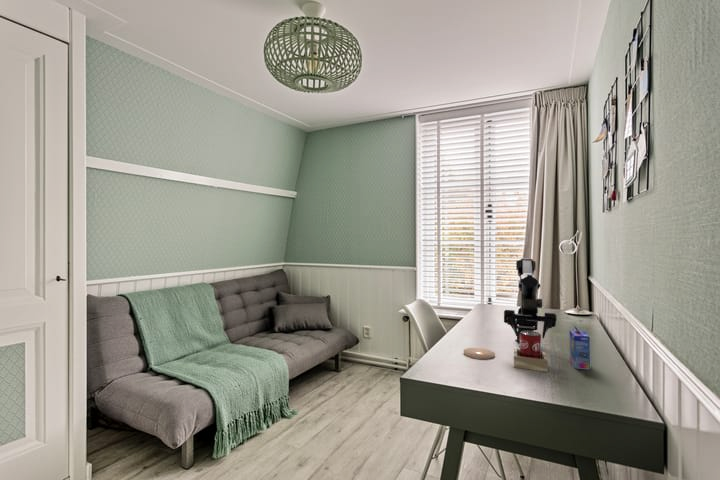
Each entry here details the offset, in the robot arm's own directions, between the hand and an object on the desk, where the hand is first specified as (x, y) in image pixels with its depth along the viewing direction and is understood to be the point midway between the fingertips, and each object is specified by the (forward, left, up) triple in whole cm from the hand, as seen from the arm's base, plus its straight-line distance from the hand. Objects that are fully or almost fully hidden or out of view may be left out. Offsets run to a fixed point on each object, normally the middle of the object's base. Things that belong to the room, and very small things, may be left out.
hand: (529, 336), depth 147 cm
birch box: (+2, +2, -10) cm, 10 cm away
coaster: (+13, -14, -10) cm, 21 cm away
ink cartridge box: (-16, +7, -10) cm, 21 cm away
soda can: (+2, +2, -10) cm, 10 cm away
